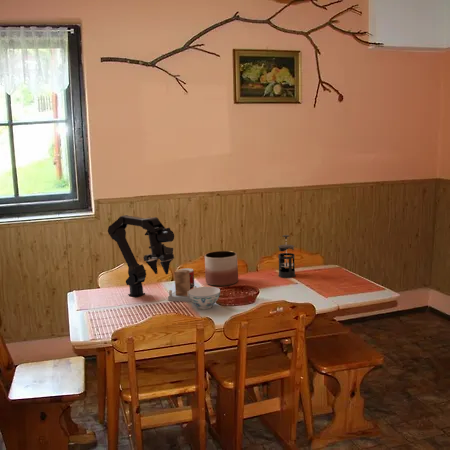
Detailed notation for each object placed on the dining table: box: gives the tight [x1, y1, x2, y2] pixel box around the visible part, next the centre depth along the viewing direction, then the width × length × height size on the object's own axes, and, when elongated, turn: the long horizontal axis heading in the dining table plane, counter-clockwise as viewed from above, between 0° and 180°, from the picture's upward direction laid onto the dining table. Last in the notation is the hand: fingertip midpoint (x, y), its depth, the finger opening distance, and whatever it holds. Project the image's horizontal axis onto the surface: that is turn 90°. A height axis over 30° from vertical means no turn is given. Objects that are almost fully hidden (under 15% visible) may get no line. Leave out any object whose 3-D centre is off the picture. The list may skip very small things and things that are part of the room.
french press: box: [277, 234, 296, 279], centre depth 308 cm, size 12×9×23 cm
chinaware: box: [188, 286, 221, 310], centre depth 262 cm, size 15×15×8 cm
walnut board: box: [173, 269, 190, 296], centre depth 276 cm, size 6×4×12 cm
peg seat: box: [167, 285, 197, 303], centre depth 277 cm, size 12×10×5 cm
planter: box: [204, 250, 239, 287], centre depth 301 cm, size 18×18×16 cm
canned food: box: [179, 267, 195, 290], centre depth 289 cm, size 8×8×11 cm
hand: (161, 274), depth 274 cm, fingers open, 9 cm apart
